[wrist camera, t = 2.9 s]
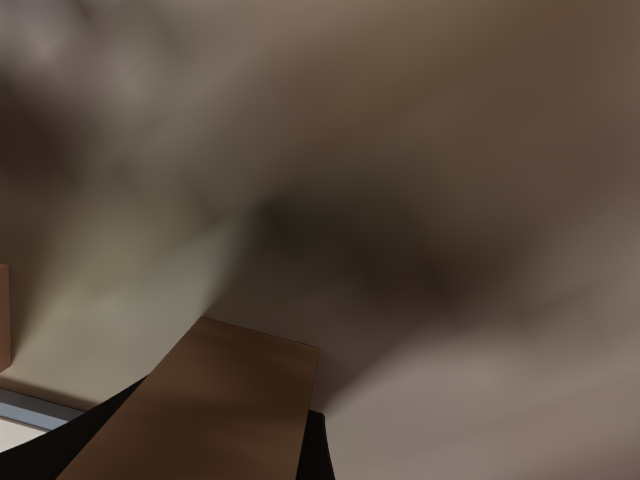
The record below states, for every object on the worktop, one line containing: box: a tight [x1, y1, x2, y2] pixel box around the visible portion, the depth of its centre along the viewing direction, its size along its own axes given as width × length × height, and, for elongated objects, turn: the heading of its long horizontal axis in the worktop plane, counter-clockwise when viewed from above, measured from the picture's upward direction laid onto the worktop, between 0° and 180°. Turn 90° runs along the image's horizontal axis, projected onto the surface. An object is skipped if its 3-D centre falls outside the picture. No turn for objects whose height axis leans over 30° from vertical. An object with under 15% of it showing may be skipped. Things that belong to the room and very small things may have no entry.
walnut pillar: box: [55, 317, 320, 480], centre depth 10 cm, size 4×4×7 cm
